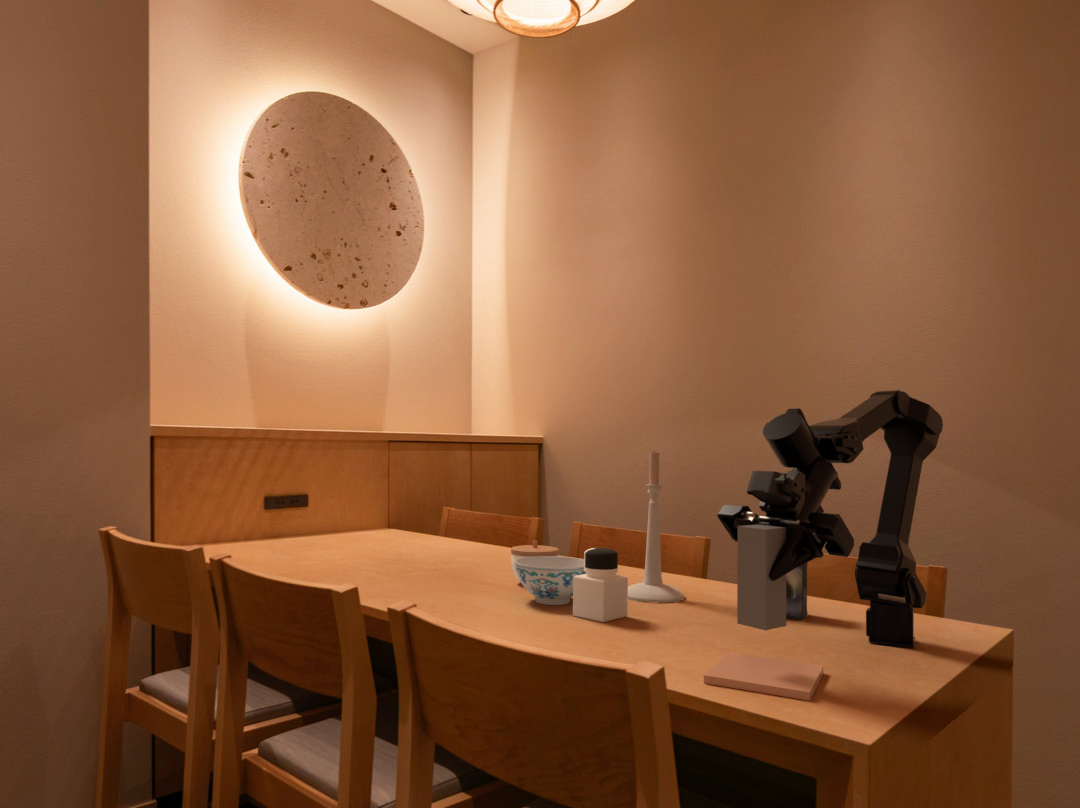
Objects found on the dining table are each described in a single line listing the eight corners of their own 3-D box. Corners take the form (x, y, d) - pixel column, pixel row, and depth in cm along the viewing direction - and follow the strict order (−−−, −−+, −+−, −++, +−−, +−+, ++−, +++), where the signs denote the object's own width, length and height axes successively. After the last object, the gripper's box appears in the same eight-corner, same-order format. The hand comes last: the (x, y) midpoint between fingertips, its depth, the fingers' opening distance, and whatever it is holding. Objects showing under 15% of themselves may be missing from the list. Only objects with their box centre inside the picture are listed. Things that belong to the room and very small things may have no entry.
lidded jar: (567, 583, 166) (568, 540, 167) (542, 590, 157) (543, 545, 158) (527, 577, 172) (528, 536, 172) (500, 584, 163) (501, 541, 163)
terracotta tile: (823, 673, 102) (823, 665, 102) (809, 700, 90) (809, 692, 90) (727, 659, 108) (727, 651, 108) (703, 683, 96) (703, 675, 96)
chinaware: (546, 591, 156) (547, 553, 157) (605, 601, 147) (606, 562, 147) (498, 601, 145) (499, 561, 145) (559, 613, 135) (560, 570, 136)
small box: (743, 614, 138) (743, 557, 139) (750, 607, 144) (751, 553, 145) (802, 621, 133) (803, 562, 134) (808, 614, 139) (808, 557, 140)
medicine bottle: (628, 616, 134) (629, 549, 134) (603, 623, 128) (604, 552, 129) (596, 610, 139) (598, 545, 139) (571, 616, 133) (573, 548, 134)
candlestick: (615, 599, 149) (617, 449, 151) (628, 588, 161) (630, 449, 163) (679, 605, 145) (681, 450, 147) (688, 593, 157) (689, 451, 159)
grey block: (758, 619, 103) (758, 524, 104) (786, 625, 99) (786, 527, 100) (737, 623, 100) (737, 526, 101) (765, 630, 97) (765, 529, 97)
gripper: (725, 449, 111) (674, 528, 104) (841, 451, 96) (791, 543, 89) (758, 501, 115) (711, 580, 108) (874, 510, 100) (828, 603, 93)
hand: (755, 575), depth 99 cm, fingers closed on grey block, 4 cm apart
